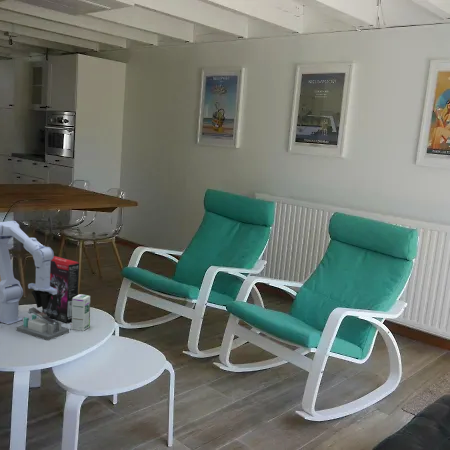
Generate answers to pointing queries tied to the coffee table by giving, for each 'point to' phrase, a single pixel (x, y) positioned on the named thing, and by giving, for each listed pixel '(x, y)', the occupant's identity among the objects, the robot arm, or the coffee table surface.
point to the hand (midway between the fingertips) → (42, 307)
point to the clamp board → (44, 334)
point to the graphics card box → (62, 288)
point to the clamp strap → (42, 316)
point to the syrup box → (81, 312)
